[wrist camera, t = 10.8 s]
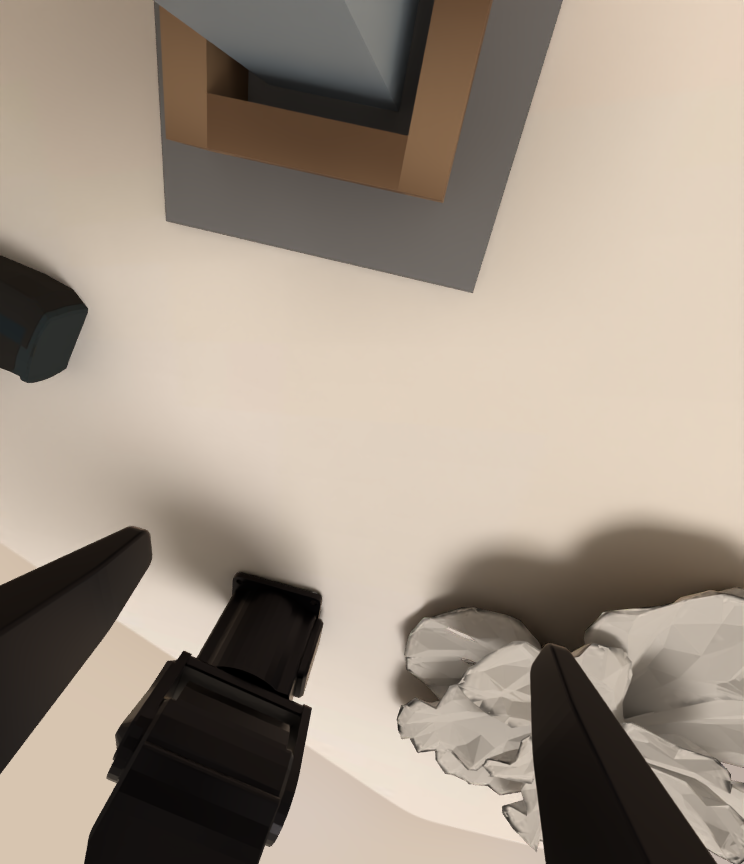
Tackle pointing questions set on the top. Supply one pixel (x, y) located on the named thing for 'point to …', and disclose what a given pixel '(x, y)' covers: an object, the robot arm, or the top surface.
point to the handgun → (36, 322)
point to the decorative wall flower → (616, 683)
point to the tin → (313, 43)
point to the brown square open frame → (320, 137)
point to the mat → (366, 206)
